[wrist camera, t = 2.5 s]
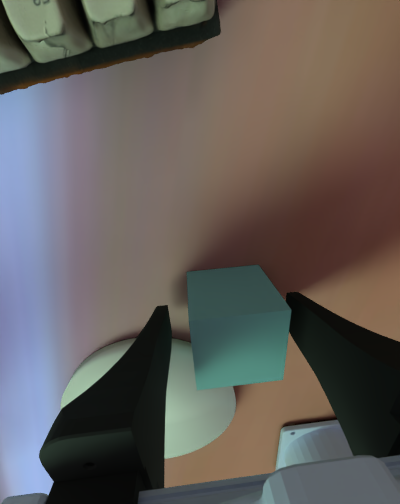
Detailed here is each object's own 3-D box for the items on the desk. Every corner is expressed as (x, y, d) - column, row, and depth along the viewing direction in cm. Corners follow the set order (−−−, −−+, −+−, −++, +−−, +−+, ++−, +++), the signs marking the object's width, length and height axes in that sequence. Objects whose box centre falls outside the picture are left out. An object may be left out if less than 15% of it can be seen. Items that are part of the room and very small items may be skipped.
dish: (231, 327, 15) (235, 340, 14) (233, 433, 20) (236, 449, 19) (43, 348, 15) (32, 363, 14) (94, 451, 20) (88, 469, 19)
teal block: (258, 264, 14) (291, 309, 9) (255, 320, 15) (282, 379, 11) (186, 271, 13) (189, 320, 9) (192, 327, 15) (196, 390, 11)
